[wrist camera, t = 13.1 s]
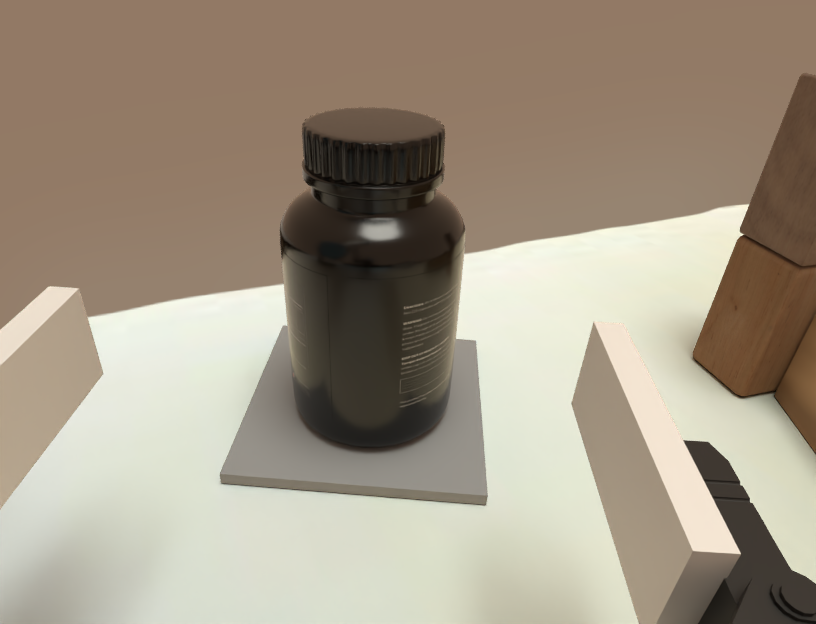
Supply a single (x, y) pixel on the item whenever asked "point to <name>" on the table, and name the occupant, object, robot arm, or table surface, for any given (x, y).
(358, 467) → the felt pad
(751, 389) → the wooden block
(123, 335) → the table surface
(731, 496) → the robot arm
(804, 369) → the plane block
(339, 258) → the supplement bottle
